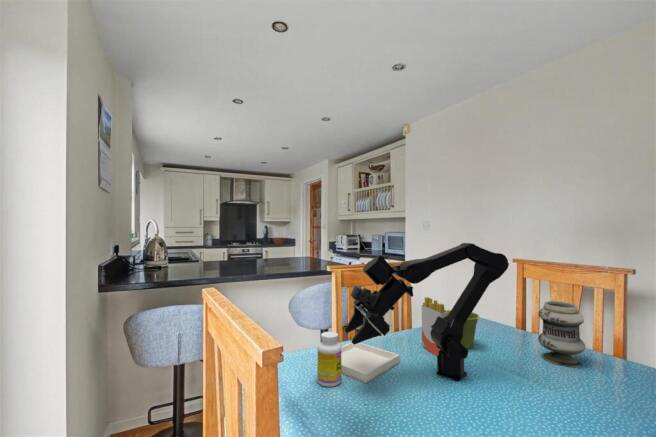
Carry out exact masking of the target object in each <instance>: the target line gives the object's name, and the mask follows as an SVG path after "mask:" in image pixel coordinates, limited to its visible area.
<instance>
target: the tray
mask: <svg viewBox="0 0 656 437" xmlns="http://www.w3.org/2000/svg"><path fill="white" fill-rule="evenodd" d="M341 348H342V360H341V362H342V364H341V365H342V369H341V371H342V372H341V375H344V376H347V377H349V378H351V379H355V380H357V381H359V382H362V383H364V384H368V383H370V382H371V381H372V380H374V379H376V378H378V377H380V376H381V375H382V374H384V373H386V372H388V371H389V370H391V369H392V368H394V367H395V366H396V365H398V364H400V363H401V362H400V361H401V355H400V354H399V353H398V354H397V353H395V352H391V351H388V350H385V349H382V348H378V347H376V346H372V345H369V344H365V343H363V342H360V343H357V344H355V345H354V344H353V343H352V342H351V341H350V342H349V343H346V344H344V345H341Z"/></svg>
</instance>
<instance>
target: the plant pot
mask: <svg viewBox="0 0 656 437" xmlns="http://www.w3.org/2000/svg"><path fill="white" fill-rule="evenodd" d="M451 310H452V309H451ZM451 310H450V311H451ZM446 312H447V310H446ZM479 318H480V315H479V314H478V313H476V312H473V311H472V313H471V315H470V316H469V318H468V319H467V321H466V323H465V324H464V329H463V338H462V340H461V342H460V343H461V344H462V345H463V346H464V347H465V348H466V349H467V350H468V349H472V348H473V347H474V341H475V336H476V329H477V325H478V324H477V323H478V319H479Z"/></svg>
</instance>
